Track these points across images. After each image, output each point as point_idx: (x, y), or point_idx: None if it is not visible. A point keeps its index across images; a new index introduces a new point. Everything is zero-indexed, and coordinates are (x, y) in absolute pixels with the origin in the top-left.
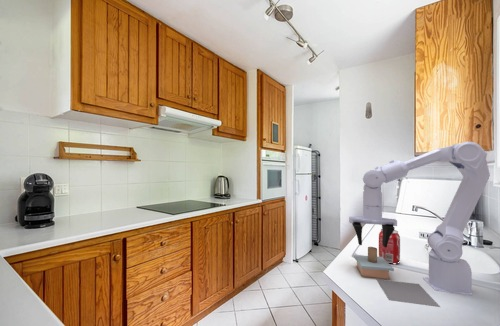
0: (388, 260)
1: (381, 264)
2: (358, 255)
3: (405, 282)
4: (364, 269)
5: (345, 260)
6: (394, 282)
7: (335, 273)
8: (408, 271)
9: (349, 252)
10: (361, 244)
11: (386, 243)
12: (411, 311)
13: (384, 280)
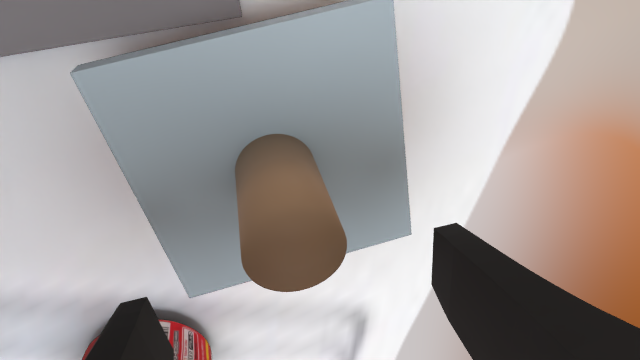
0: None
1: (195, 127)
2: (376, 237)
3: (4, 54)
4: None
5: (414, 248)
6: (93, 10)
7: (526, 6)
8: (18, 278)
9: (372, 357)
10: (444, 231)
11: (105, 344)
12: None
13: (175, 15)
